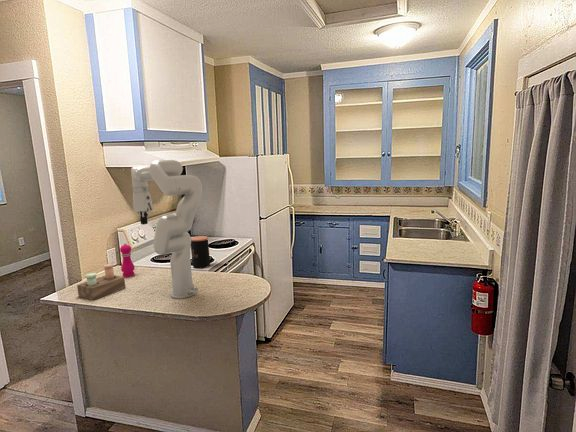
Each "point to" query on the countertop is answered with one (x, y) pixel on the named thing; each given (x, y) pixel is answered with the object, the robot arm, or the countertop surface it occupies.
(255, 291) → the countertop surface
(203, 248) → the coffee jar
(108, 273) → the peach peg
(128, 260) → the pepper mill
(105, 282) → the socket block
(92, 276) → the green plug
